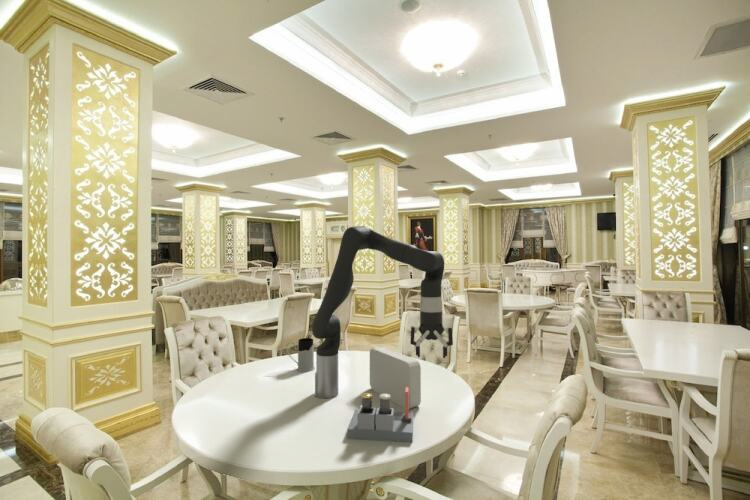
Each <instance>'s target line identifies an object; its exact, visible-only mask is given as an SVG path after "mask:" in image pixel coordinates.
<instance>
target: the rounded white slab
mask: <svg viewBox="0 0 750 500" xmlns="http://www.w3.org/2000/svg"><path fill="white" fill-rule="evenodd" d="M421 369H422V368H421V363H420V362H419V361H418V360H417V359H415V358H413V357H410V356H407V355H405V354H402V353H400V352H397V351H394V350H391V349H388V348H386V347H383V346H382V347H376V348H375V347H374V348H371V349H370V351H369V386H370V388H371V389H372V391H374V392H376V393H378V395H381V394H389V395H390V396H391V398H390V401H392V402H394V403H395V402H396V403H395V404H397V403H398V404H397V405H399V406H401V407H402V408H404V409H405V390H406V387H409V409H414V408H417V407H419V406H420V405H421V401H422V400H421V398H422V397H421V396H422V395H421V394H422V393H421V392H422V391H421V389H422V388H421V384H422V383H421V375H422V373H421V371H422V370H421Z"/></svg>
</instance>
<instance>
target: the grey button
mask: <svg viewBox="0 0 750 500" xmlns="http://www.w3.org/2000/svg"><path fill="white" fill-rule="evenodd" d="M390 398H391V396H390V395H389V394H379V408H380V412H381V413H389V412H390V408H391V400H390Z"/></svg>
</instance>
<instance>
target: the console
mask: <svg viewBox="0 0 750 500" xmlns="http://www.w3.org/2000/svg"><path fill="white" fill-rule="evenodd" d="M394 409H395V408H393V407H392V408H391V407H390V412H389V413H381V412H380V407H372V411H371V412H369V413H365V412H362V407H361V406H360V407H359V409H354V412H353V415H352V417H351V419H350V421H349V425H348V427H347V429H346V430H347V431H346V433H347V439H348V440H349V439H353V440H367V441H368V440H370V441H387V442H403V443H404V442H405V443H414V442H413V441H414V440H413V439H414V438H413V436H414V435H413V434H414V412H411V411H409V414H412V419H411V421H402V418H403V413H404V414H405V411H395V410H394Z"/></svg>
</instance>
